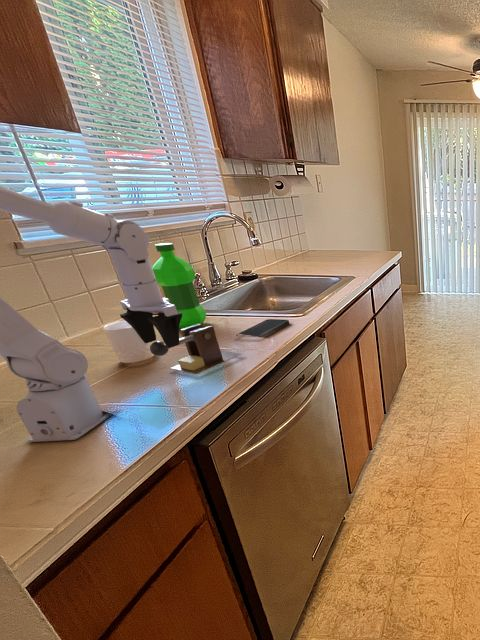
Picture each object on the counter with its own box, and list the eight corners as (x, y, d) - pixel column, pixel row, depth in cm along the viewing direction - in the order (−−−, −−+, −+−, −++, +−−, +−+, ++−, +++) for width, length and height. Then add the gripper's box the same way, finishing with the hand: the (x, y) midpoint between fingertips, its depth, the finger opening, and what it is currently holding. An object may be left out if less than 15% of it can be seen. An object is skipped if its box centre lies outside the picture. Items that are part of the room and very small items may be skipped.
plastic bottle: (207, 319, 131) (183, 240, 121) (212, 327, 124) (186, 244, 113) (170, 325, 125) (141, 243, 115) (173, 334, 118) (142, 248, 108)
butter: (193, 370, 92) (190, 362, 91) (180, 367, 93) (177, 360, 93) (206, 365, 95) (203, 357, 94) (193, 362, 96) (191, 354, 95)
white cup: (137, 369, 96) (121, 330, 92) (111, 367, 97) (94, 328, 93) (166, 356, 103) (153, 319, 99) (142, 354, 104) (127, 318, 100)
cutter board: (198, 378, 91) (184, 338, 87) (171, 372, 94) (157, 334, 90) (243, 358, 101) (233, 321, 97) (218, 353, 104) (207, 318, 100)
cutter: (158, 359, 85) (153, 345, 84) (149, 357, 86) (143, 343, 85) (211, 340, 96) (207, 327, 94) (202, 338, 97) (198, 325, 95)
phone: (290, 319, 125) (258, 336, 112) (291, 323, 125) (259, 340, 112) (267, 319, 126) (233, 335, 113) (268, 322, 127) (234, 339, 113)
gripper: (182, 280, 82) (202, 341, 88) (137, 275, 87) (159, 333, 93) (146, 288, 76) (169, 353, 82) (99, 282, 81) (125, 344, 87)
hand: (161, 343), depth 87 cm, fingers open, 7 cm apart
